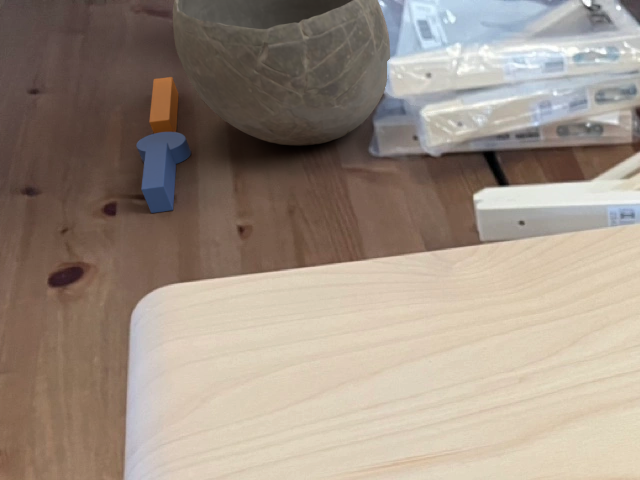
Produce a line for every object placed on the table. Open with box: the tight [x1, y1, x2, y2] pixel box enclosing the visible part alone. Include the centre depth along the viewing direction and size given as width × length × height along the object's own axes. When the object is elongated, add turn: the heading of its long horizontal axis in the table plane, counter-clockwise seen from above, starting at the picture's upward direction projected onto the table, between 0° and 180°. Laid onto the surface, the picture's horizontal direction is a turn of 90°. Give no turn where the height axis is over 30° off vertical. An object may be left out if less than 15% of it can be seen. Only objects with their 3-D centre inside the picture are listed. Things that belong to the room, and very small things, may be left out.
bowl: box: [172, 0, 391, 146], centre depth 106 cm, size 20×20×15 cm
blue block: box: [135, 131, 192, 214], centre depth 102 cm, size 15×5×2 cm, turn 19°
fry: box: [149, 76, 180, 134], centre depth 113 cm, size 12×2×2 cm, turn 19°
